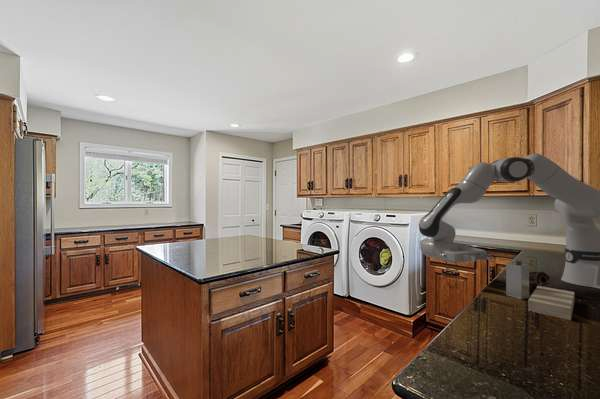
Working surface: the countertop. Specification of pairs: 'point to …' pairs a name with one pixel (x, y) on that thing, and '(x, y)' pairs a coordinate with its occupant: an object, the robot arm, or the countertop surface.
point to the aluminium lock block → (517, 280)
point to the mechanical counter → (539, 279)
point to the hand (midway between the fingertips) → (483, 258)
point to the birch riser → (552, 302)
